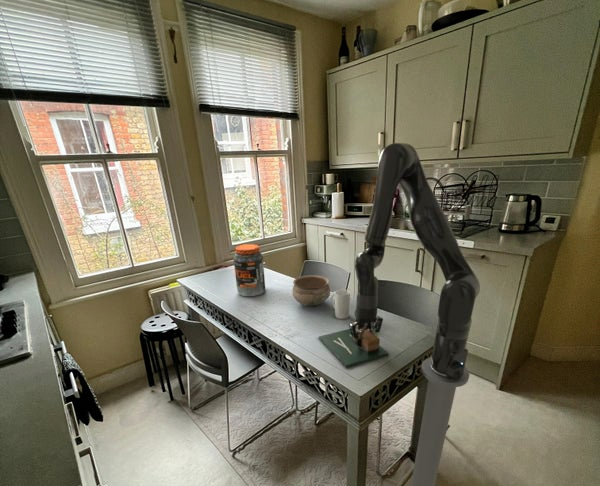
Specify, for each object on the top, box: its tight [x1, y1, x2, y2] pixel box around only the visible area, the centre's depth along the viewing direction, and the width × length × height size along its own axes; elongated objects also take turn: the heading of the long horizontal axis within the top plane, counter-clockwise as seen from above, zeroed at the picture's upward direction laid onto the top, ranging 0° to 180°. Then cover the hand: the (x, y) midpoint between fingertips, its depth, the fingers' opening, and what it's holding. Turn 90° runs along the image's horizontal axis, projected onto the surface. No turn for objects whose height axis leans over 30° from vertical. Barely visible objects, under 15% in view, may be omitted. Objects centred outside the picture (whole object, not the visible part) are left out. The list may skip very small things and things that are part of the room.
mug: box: [330, 289, 351, 320], centre depth 146 cm, size 10×7×12 cm, turn 41°
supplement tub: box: [233, 243, 266, 297], centre depth 172 cm, size 16×16×26 cm
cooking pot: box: [291, 275, 331, 308], centre depth 158 cm, size 25×19×12 cm
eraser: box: [352, 329, 381, 355], centre depth 120 cm, size 11×5×6 cm, turn 23°
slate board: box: [318, 326, 389, 369], centre depth 123 cm, size 22×18×1 cm
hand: (365, 344), depth 121 cm, fingers closed on eraser, 5 cm apart
